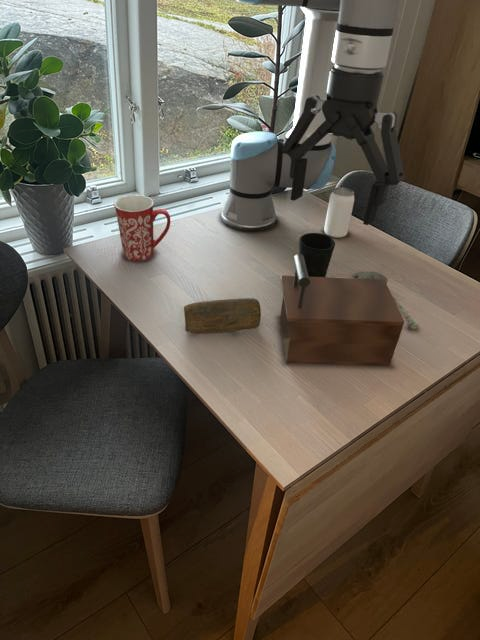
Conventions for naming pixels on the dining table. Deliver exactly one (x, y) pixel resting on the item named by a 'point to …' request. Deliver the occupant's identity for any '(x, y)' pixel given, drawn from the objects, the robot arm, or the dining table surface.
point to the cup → (316, 253)
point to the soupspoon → (380, 276)
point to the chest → (338, 342)
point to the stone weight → (222, 315)
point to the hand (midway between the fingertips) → (331, 209)
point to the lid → (337, 299)
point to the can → (339, 212)
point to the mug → (138, 226)
